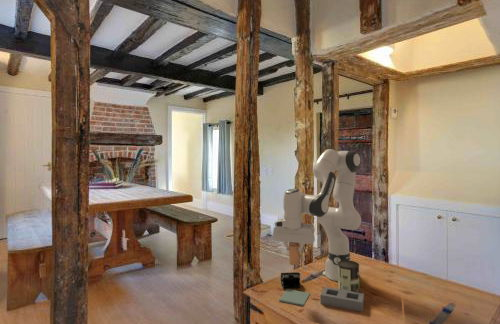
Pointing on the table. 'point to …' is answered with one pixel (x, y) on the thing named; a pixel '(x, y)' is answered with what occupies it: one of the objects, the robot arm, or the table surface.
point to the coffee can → (348, 275)
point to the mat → (294, 297)
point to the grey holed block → (342, 298)
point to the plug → (293, 253)
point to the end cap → (290, 280)
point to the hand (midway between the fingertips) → (293, 250)
